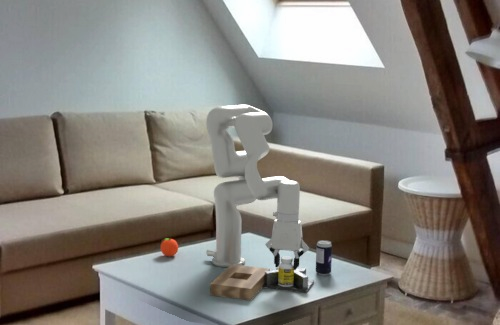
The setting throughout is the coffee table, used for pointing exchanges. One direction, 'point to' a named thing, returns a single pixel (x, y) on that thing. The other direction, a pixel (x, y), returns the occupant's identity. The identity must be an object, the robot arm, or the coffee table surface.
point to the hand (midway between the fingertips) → (286, 266)
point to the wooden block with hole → (239, 282)
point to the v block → (299, 284)
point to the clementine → (169, 247)
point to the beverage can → (323, 257)
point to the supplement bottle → (286, 272)
